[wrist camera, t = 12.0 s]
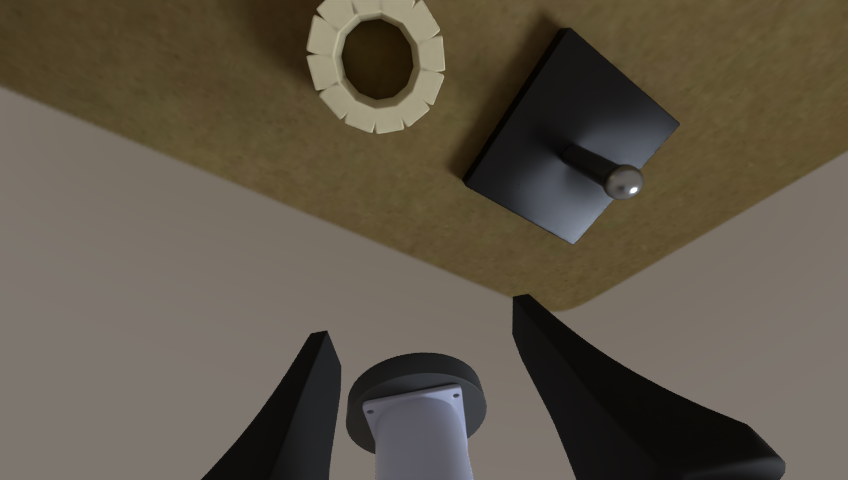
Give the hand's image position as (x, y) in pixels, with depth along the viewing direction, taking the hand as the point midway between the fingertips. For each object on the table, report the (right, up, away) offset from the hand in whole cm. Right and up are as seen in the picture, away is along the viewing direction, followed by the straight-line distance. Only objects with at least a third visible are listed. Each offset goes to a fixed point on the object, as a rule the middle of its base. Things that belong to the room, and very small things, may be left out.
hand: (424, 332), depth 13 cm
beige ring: (-2, +12, +3) cm, 13 cm away
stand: (+8, +9, +7) cm, 14 cm away
